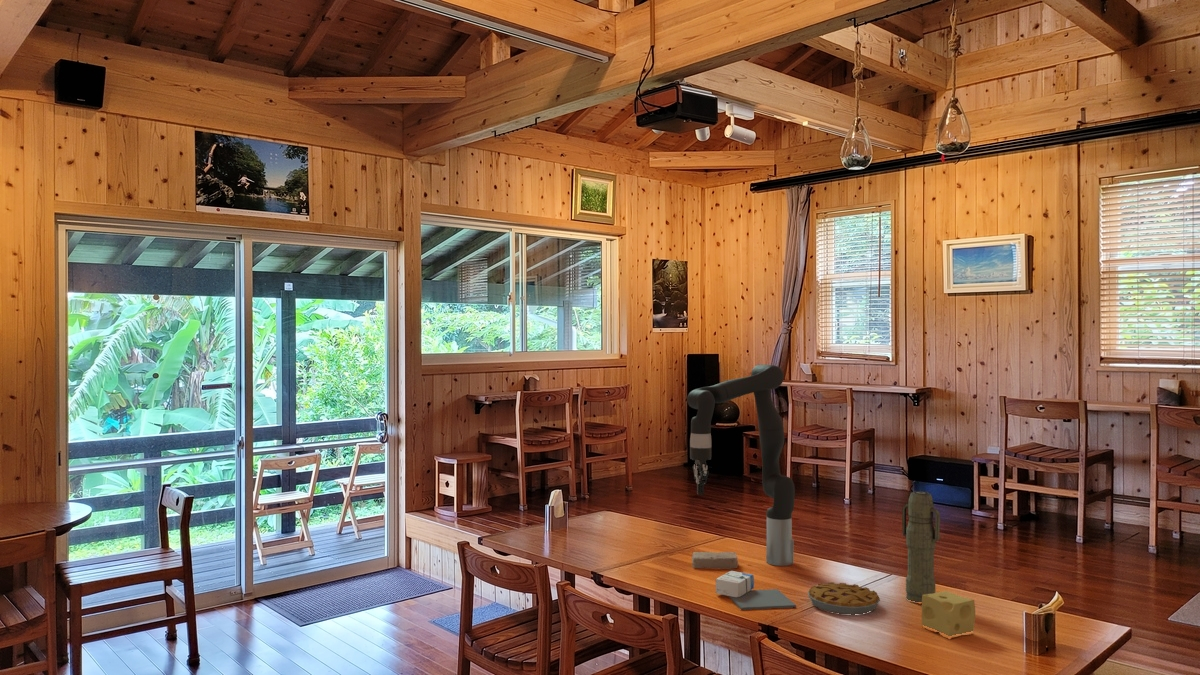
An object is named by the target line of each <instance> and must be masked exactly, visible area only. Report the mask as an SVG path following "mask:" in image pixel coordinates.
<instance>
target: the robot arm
mask: <svg viewBox="0 0 1200 675" xmlns="http://www.w3.org/2000/svg"><path fill="white" fill-rule="evenodd" d="M784 376H785V375H784V372H783V370H782V369H781V367H779V366H778V365H775V364H756V365H755V366H754V367H753V368H752V369H751V372H750V375H749V376H744V377H739V378H733V379H729V380H725V381H722V382H719V383H717V384H714V385H710V386H703V387H699V388H695V389H693V390H691V391H690V392H689V393H688V395H687V397H686V398H687V399H686V402H687V405H688V406H689V407H690V408H692V409H693V410H694V409H695V410H697V412H696V416H693V417H692V418H691V420H690V438H689V458H690V460H692V461H694V464H693V465H692V470H693V476H694V477H693V478H694V480H695V483H696V494H697V495H699V496H703V495H705V484H707V482H708V477H709V474H710V471H709V470H708V465H707V461H710V460H712V435H711V434H712V433H711V432H712V428H711V427H712V423H711V422H712V419H713V414H714V412H715V405H716V404H722V403H723V404H724V403H726V402H728V401H732V400H735V399H737V398H740V397H743V396H745V395H749V394H752V393H753V395H754V402H755V406H756V407H755V408H756V415H757V416H756V417H757V423H758V424H757V426H758V434H759V436H758V437H759V441H760V442H759V443H760V451H761V452H760V453H761V466H762V469H761V470H762V472H761V474H762V475H761V479H762V480H761V481H762V482H761V483H762V489H763V493H765V495H766V496H768V497H769V498H772V499H773V505H772V507H769V508H767V509H766V548H765V549H766V550H765V551H766V556H765V557H766V561H765V562H766V563H767V564H769V565H772V566H777V567H778V566H780V567H781V566H782V567H785V566H790V565H794V538H792V524H793V522H792V516H793V515H792V514H793V512H794V508H795V496H796V495H795V493H796V491H795V483H794V481H793V479H792V478H791V477H790V476H787V475H784V474H783V475H782V474H781V469H780V457H781V456H780V455H781V453H782V450H783V446H784V443H785V430H784V429H785V428H784V422H783V420H782V417H781V416H780V413H779V412H778V410H777V408H776V407H775V404H774V402H773V399H772V393H771V390H775V389H777V388H779V387H780V386H782V384H783V381H784Z"/></svg>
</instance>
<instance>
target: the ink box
mask: <svg viewBox="0 0 1200 675" xmlns="http://www.w3.org/2000/svg"><path fill="white" fill-rule="evenodd" d="M750 590H755V577H754V574H751V573H745V572H740V571H734V570H730V571H728V572H726V573H724V574H722V575H721V576H718V577H717V578H716V579H715V593H716V594H718V595H720V596H721V595H722V596H726V597H728V596H731V597H736V598H737V597H740V596H742V595H744V594H745V593H747V592H749V591H750Z"/></svg>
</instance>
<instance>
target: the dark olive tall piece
mask: <svg viewBox="0 0 1200 675" xmlns="http://www.w3.org/2000/svg"><path fill="white" fill-rule="evenodd" d="M907 510H908V511H907ZM907 512H908V520H907ZM901 515H902V516H901V517H902V521H901V522H902V526H901V528H902V530H901V531H902V536H904V538H905V540H906V542H905V543H906V547H907V575H906V577H905V593H906V597H905V598H907V599H908V600H911V601H915V602H922V595H925V594H933V593H936V579H935V576H934V573H935V572H934V570H935V568H934V566H935V564H934V563H935V562H934V559H935V554H934V552H935V550H936V542H938V541H940V538H941V534H940V531H941V529H940V528H941V512H940V511H939V510H938V509H937V508H935V507H934V500H933V497H932V494H931V493H929V491H923V490H914V491H911V492H910V495H909V497H908V503H906V504H905V505H904V506H903V507H902V513H901ZM933 519H934V520H933ZM907 522H908V523H907ZM907 599H906V600H907ZM908 600H907V601H908Z"/></svg>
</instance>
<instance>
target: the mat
mask: <svg viewBox="0 0 1200 675" xmlns="http://www.w3.org/2000/svg"><path fill="white" fill-rule="evenodd" d="M727 597H728V598H729V599H730V600H731V601H732V602H733V603H734V604H735V605H736V607H738V608H740V609H741V610H740V611H746V610H747V611H749V610H750V611H751V610H752V609H756V610H772V609H771V608H778V609H793V607H795V608H797V604H796V603H794V602H793V601H792V600H791V599H790V598H789V597H788V596H786V595H785V594H784V593H783V592H782V591H780V590H779V589H778V588H775V589H774V588H771V589H752V590H750V591H749V592H747V593H745V594H744V595H742V596H740V597H737V598H736V597H731V596H727Z"/></svg>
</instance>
